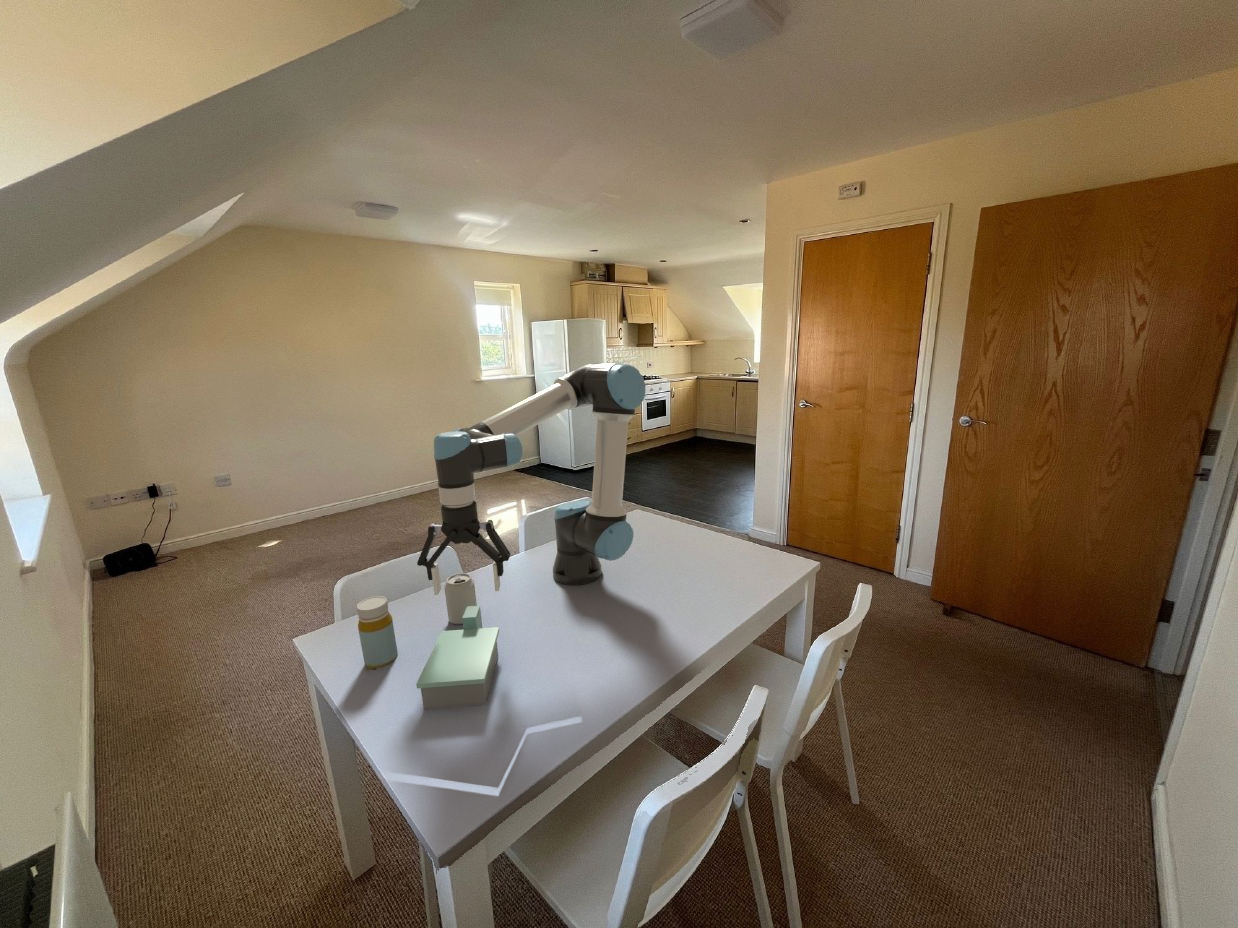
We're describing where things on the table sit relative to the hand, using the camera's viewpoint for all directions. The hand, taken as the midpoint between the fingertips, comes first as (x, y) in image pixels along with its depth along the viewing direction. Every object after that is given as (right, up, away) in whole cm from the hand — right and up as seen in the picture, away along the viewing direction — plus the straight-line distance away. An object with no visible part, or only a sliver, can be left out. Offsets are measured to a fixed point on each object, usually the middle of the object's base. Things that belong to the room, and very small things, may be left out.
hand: (467, 590), depth 113 cm
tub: (+2, -18, -8) cm, 20 cm away
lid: (+1, -14, -6) cm, 15 cm away
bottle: (-20, -17, +1) cm, 26 cm away
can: (-6, -12, +17) cm, 22 cm away
